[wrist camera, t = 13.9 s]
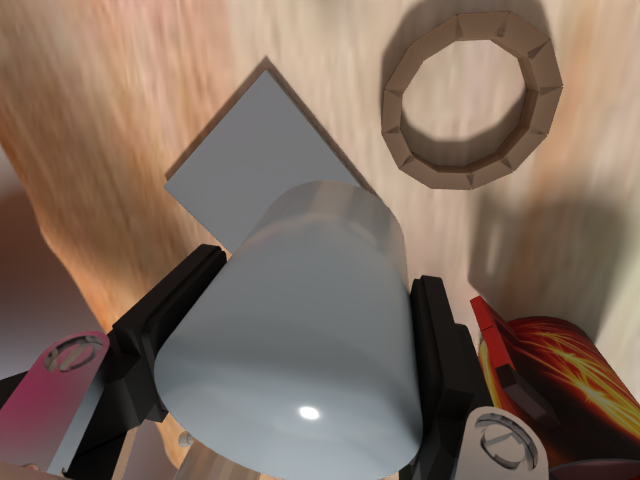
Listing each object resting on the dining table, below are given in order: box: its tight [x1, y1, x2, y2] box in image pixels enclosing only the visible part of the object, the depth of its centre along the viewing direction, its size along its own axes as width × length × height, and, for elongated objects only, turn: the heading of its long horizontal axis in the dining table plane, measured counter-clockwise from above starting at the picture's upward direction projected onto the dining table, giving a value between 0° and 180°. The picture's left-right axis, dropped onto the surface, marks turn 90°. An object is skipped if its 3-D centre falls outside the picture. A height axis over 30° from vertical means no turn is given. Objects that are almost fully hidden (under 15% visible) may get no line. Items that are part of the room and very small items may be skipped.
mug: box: [470, 295, 640, 480], centre depth 25 cm, size 10×14×12 cm
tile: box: [163, 70, 367, 255], centre depth 27 cm, size 14×14×1 cm
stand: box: [381, 11, 563, 190], centre depth 21 cm, size 10×10×2 cm
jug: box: [154, 180, 423, 480], centre depth 11 cm, size 10×6×7 cm, turn 12°
